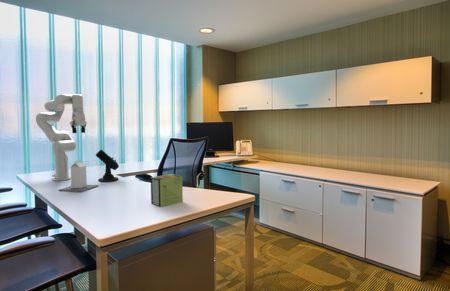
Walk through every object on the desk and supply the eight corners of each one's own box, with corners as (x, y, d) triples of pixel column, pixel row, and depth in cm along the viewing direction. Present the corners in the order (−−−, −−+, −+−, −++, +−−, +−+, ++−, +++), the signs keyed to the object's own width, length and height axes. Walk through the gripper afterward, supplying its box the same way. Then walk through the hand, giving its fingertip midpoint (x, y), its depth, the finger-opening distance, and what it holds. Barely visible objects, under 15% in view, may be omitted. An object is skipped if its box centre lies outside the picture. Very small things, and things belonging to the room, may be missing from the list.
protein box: (183, 201, 176) (182, 175, 174) (160, 207, 165) (159, 179, 164) (172, 198, 183) (172, 173, 182) (150, 203, 172) (150, 177, 171)
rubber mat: (58, 190, 203) (58, 189, 203) (77, 185, 220) (76, 184, 220) (81, 192, 199) (81, 191, 199) (98, 186, 217) (98, 185, 217)
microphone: (96, 179, 242) (95, 149, 239) (118, 177, 249) (117, 148, 247) (96, 183, 228) (95, 150, 226) (120, 181, 235) (119, 149, 233)
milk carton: (86, 186, 213) (85, 160, 211) (80, 188, 206) (79, 161, 204) (77, 186, 214) (76, 159, 212) (71, 188, 207) (70, 161, 205)
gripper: (74, 110, 218) (75, 133, 220) (89, 111, 235) (90, 132, 237) (65, 110, 220) (66, 133, 221) (81, 111, 237) (82, 132, 238)
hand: (78, 133), depth 229 cm, fingers open, 9 cm apart
